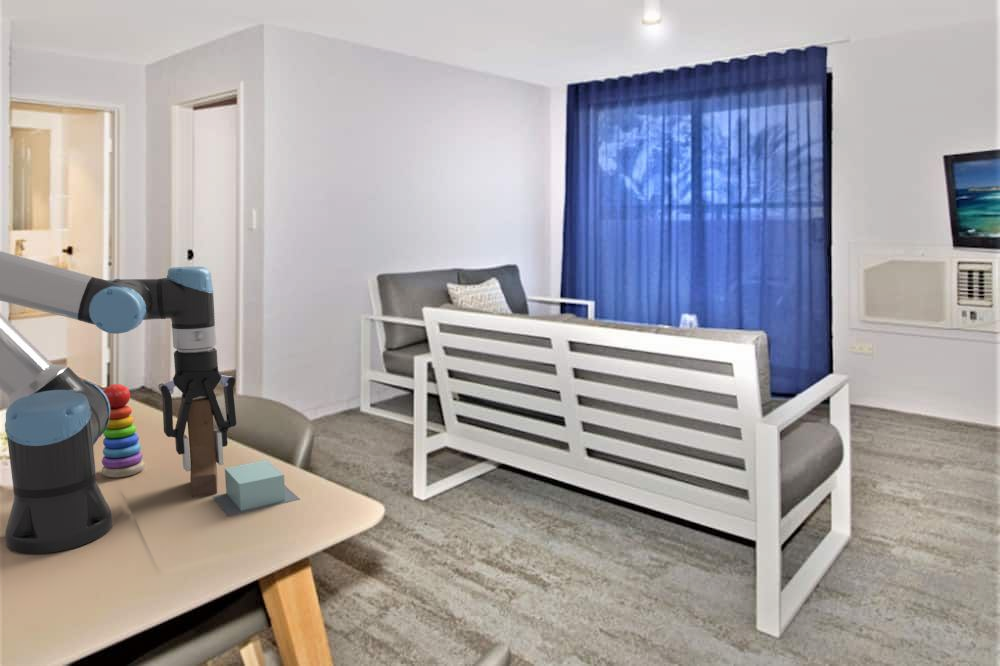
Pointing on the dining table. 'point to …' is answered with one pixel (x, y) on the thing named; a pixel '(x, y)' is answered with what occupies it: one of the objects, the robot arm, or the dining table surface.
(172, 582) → the dining table surface
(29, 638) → the dining table surface
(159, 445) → the dining table surface
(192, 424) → the wooden block
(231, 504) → the mat
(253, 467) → the plinth
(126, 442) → the stacking toy
